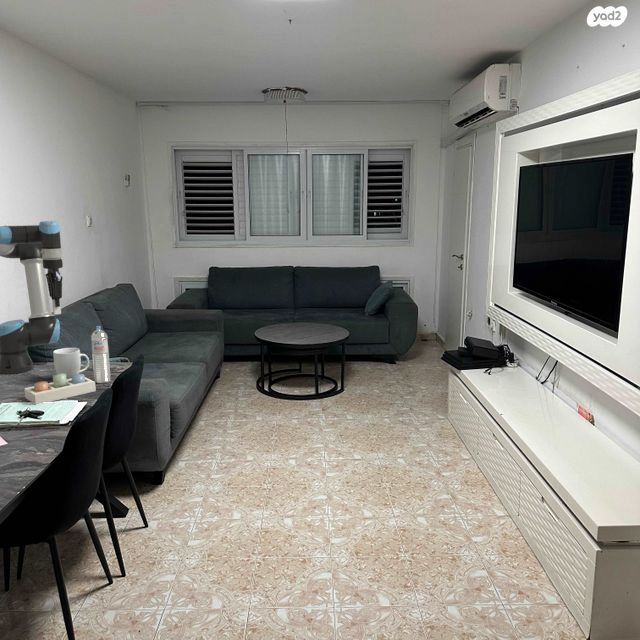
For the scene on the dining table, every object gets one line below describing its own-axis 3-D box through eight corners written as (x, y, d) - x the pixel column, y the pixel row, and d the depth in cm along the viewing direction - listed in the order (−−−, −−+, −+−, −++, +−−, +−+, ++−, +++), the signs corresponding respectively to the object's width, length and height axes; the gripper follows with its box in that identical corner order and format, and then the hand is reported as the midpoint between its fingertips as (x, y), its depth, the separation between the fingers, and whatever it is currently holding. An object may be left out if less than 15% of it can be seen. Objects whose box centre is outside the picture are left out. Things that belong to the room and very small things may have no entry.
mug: (86, 372, 270) (84, 345, 267) (94, 377, 262) (91, 349, 259) (52, 378, 261) (49, 350, 258) (59, 383, 252) (56, 354, 250)
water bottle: (114, 379, 258) (109, 325, 253) (104, 384, 251) (100, 328, 246) (100, 378, 260) (96, 324, 255) (91, 383, 253) (86, 327, 248)
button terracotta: (33, 395, 233) (31, 383, 232) (46, 392, 236) (44, 380, 235) (37, 397, 229) (36, 385, 228) (50, 395, 233) (49, 383, 232)
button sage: (51, 386, 238) (50, 375, 237) (64, 384, 241) (63, 372, 240) (56, 389, 234) (55, 377, 233) (69, 386, 237) (67, 375, 237)
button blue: (70, 387, 243) (69, 375, 242) (82, 384, 247) (81, 373, 246) (75, 389, 240) (74, 378, 239) (87, 386, 243) (86, 375, 242)
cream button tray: (25, 397, 234) (24, 388, 233) (83, 384, 251) (83, 376, 250) (35, 404, 226) (34, 395, 225) (95, 391, 242) (95, 381, 241)
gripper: (37, 258, 242) (42, 312, 247) (48, 260, 233) (53, 317, 238) (55, 256, 247) (60, 310, 252) (67, 259, 238) (72, 315, 243)
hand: (57, 313), depth 245 cm, fingers closed
